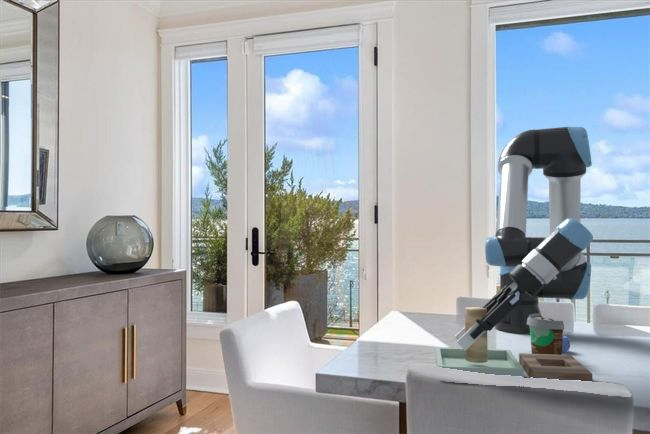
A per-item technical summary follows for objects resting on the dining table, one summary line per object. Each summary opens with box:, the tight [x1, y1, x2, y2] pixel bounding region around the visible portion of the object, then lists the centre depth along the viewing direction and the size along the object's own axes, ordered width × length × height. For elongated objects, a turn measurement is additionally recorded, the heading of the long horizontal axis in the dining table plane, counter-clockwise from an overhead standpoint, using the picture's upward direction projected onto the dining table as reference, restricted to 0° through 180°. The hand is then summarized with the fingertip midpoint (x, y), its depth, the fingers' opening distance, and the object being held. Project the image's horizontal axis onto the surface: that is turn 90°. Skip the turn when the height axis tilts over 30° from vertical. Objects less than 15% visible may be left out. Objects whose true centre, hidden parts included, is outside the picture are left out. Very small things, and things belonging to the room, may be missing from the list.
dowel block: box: [518, 352, 594, 382], centre depth 121 cm, size 16×12×2 cm
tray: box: [435, 346, 525, 378], centre depth 124 cm, size 18×18×3 cm
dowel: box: [464, 306, 488, 363], centre depth 124 cm, size 5×5×12 cm
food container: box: [527, 313, 565, 355], centre depth 138 cm, size 12×6×10 cm, turn 5°
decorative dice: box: [562, 335, 571, 354], centre depth 143 cm, size 4×4×4 cm
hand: (459, 343), depth 125 cm, fingers closed on dowel, 5 cm apart
